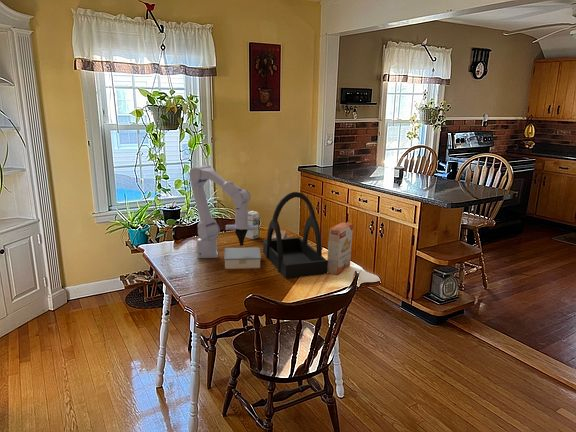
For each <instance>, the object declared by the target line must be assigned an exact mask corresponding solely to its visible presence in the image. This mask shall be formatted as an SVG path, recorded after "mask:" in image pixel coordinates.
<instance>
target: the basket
mask: <svg viewBox="0 0 576 432" xmlns="http://www.w3.org/2000/svg"><path fill="white" fill-rule="evenodd" d="M294 198H299V199H301V200H302V201H303V202H304V203H305V205H306V207H307V209H308V212H309V216H308V217H307V219H306V221H305V224H304V227H303V228H304V229H303V234H302V235H303V236H302V238H301V237H289V238H286V239H282V238H281V231H280V230H281V227H280V224H279V221H278V220H279V216H280V213H281V211H282V209H283V208H284V206H285V205H286V204H287V203H288V202H289V201H290V200H292V199H294ZM310 229H313V232H314V237H315V243H316V249H314V248H313V247H312V246H310V245H309V244H308V239H309V232H310ZM274 232H275V234H276V239H275V240H272V234H274ZM321 236H322V235H321V230H320V226H319V223H318V221H317V218H316V213H315V208H314V207H313V204H312V202H311V200H310V199H309V197H308V196H306V195H305V194H304V193H302V192H298V191H292V192H288V193H287V194H285V195H284V196H283V197H282V198H281V199H280V200H279V202H278V204H277V205H276V207H275V210H274V211H273V216H272V219H271V220H270V222H269V224H268V228H267V234H266V239H265V240H262V253H263V254H264V255H265V259H267V260H269V261H270V262H271V264H272V265H273V266H274V267H275V268H276V269H277V273H279V274H280V275H282V277H283V278H284V279H285V280H288V279H297V278H298V279H299V278H305V277H314V276H320V275H321V276H322V275H328V272H327V265H328V261H327V259H326V257H324V256H322V255H323V252H322V250H323V249H322V248H323V246H322V244H323V243H322V237H321Z"/></svg>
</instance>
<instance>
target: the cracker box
mask: <svg viewBox="0 0 576 432" xmlns="http://www.w3.org/2000/svg"><path fill="white" fill-rule="evenodd" d="M353 229H354V223H349V222H344V221H342V222H340V223H338V224H336V225H333V226H332V227H330V228H329V229H328V243H327V244H328V245H327V259H326V260H327V261H328V265H327V274H332V275H335V276H338V275H339V274H341V273H342V272H343V271H345V270H346V269H348V268H349V267H350V266H351V258H352V247H353V244H352V243H353V242H352V241H353V232H354V230H353Z"/></svg>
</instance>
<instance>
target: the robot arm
mask: <svg viewBox="0 0 576 432" xmlns="http://www.w3.org/2000/svg"><path fill="white" fill-rule="evenodd" d="M188 176H189V178H190V187H191V190H192V195H193V198H194V201H195V205H196V209H197V212H198V217H199V221H198V224H197V235H198V238H197V240H196V241H197V242H196V246H197V247H196V248H197V249H196V253H197V259H211V258H212V259H217V258H218V255H219V254H218V253H219V251H217V250H218V247H217V246H218V245H217V243H218V242H217V237H218V235H219V234H220V232H221V231H220V230H221V229H220V226H219V224H218V223H217V220H216V219H215V218H213V217H212V215H211V211H210V210H211V209H210V206H209V202H208V199H207V196H206V192H205V188H204V186H205V184H206V182H207V181H208V180H210V181H211V182H213V183H215V184H216V185H218V186H219V187H221V189H222V191H223V192H224V193H225V194H226V195H228V196H229V197H230V198H231V199H232V202H233V204H234V205H233V206H234V208H235V209H234V212H235V213H234V215H235V216H234V218H235V219H234V221H235V222H234V224H226V225H225V231H229V230H230V231H231V230H232V231H233V230H234V232H235V235H236V237H237V239H238V243H239V246H241V247H242V246H244V244H245V238H246V237H245V235H246V233H247V231H248V230H255V231H257V230H258V226H254V225H248V212H249V202H250V200H251V193H250V191H248V189H246V188H245V189H242V187H239V186H238V185H236V184H235V182H234V181H233V180H232V181H230V180H228V181H227V180H226V179H224V178H223V177H222V176H221V175H220V174H218V173H217V172H216V171H215V168H214V167H212V165H209V164H205V165H200V166H193V167H191V169H190V170H189V172H188Z"/></svg>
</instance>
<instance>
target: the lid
mask: <svg viewBox="0 0 576 432" xmlns="http://www.w3.org/2000/svg"><path fill="white" fill-rule="evenodd" d="M223 257H224V258H223V260H224V261H225V260H250V259H260V260H261V259H262V256H261V250H260V247H225V248H224V255H223Z"/></svg>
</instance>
